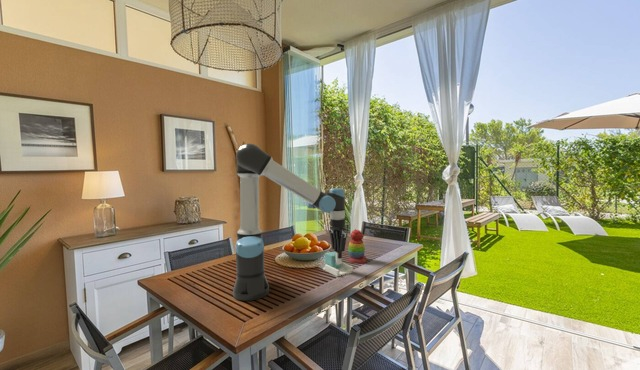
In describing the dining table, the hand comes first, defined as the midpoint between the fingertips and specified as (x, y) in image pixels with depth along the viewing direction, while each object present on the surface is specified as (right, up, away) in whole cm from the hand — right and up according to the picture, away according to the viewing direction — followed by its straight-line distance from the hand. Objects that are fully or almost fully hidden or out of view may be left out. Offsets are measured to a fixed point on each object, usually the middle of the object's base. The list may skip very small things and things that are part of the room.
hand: (338, 263), depth 147 cm
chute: (-2, -4, +4) cm, 6 cm away
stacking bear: (+12, -3, +17) cm, 21 cm away
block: (-3, -4, +4) cm, 6 cm away
